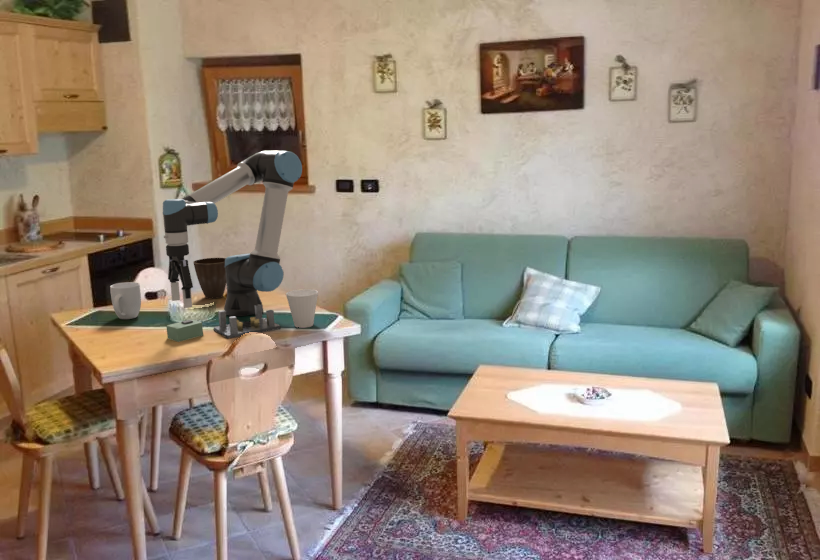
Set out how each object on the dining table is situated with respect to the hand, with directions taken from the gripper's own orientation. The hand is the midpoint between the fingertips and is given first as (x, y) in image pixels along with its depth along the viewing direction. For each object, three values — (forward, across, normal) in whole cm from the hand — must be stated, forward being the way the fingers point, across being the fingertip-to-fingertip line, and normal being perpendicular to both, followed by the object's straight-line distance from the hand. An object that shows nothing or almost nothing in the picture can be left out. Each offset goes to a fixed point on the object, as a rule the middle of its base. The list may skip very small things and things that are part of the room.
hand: (181, 303), depth 271 cm
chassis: (+12, +5, +22) cm, 25 cm away
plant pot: (+12, -55, +30) cm, 64 cm away
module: (+12, 0, 0) cm, 12 cm away
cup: (+12, +13, +40) cm, 44 cm away
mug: (+12, -42, -10) cm, 45 cm away
